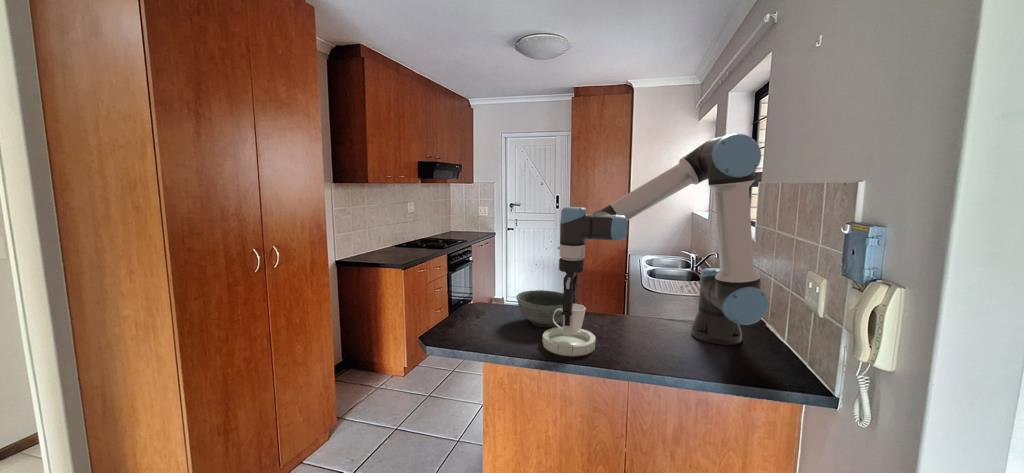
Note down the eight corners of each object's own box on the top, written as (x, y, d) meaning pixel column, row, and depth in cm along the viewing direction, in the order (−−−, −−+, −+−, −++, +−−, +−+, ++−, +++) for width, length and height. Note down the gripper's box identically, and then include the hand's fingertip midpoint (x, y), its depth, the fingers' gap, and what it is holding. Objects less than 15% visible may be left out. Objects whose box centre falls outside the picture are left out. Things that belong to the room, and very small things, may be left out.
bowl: (504, 326, 143) (505, 298, 142) (533, 310, 161) (533, 285, 160) (558, 339, 133) (559, 309, 131) (582, 320, 150) (583, 294, 149)
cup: (584, 337, 123) (585, 311, 121) (550, 333, 125) (551, 308, 123) (584, 328, 129) (586, 304, 128) (553, 325, 131) (554, 301, 130)
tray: (596, 338, 133) (597, 329, 133) (592, 359, 118) (592, 349, 117) (548, 333, 137) (548, 324, 137) (538, 352, 122) (538, 342, 122)
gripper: (564, 251, 134) (561, 319, 137) (553, 263, 115) (551, 341, 119) (587, 253, 132) (584, 321, 135) (580, 265, 113) (577, 344, 117)
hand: (568, 330), depth 127 cm, fingers closed on cup, 7 cm apart
